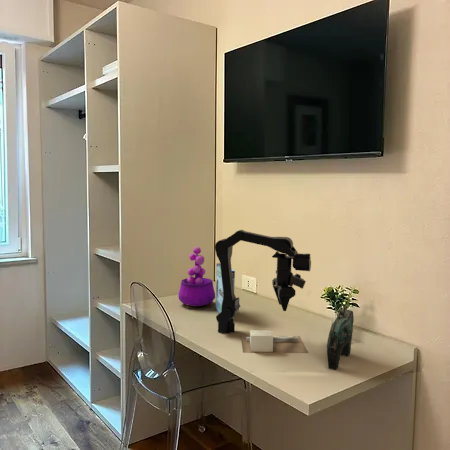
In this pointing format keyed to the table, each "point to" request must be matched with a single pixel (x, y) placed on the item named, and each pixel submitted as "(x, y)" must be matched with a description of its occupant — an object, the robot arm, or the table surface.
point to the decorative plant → (196, 284)
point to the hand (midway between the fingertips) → (282, 307)
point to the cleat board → (279, 345)
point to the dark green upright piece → (340, 337)
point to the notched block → (261, 341)
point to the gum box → (220, 287)
